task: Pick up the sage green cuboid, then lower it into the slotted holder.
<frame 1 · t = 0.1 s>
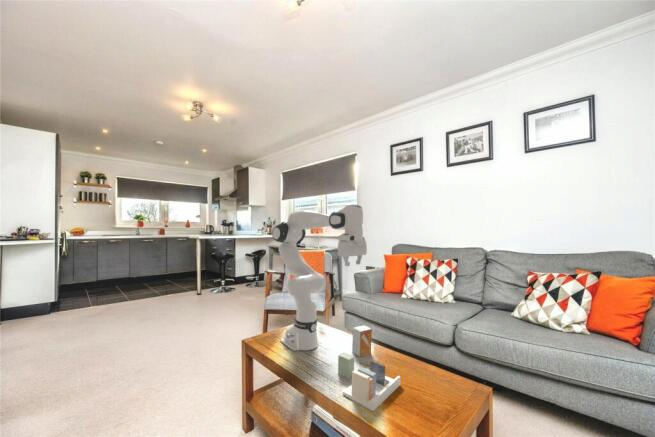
hand: (352, 265, 130), 48 cm above the table, fingers open, 8 cm apart
small box: (361, 353, 141), on the table
sage green cuboid: (345, 373, 120), on the table
slotted holder: (372, 389, 109), on the table
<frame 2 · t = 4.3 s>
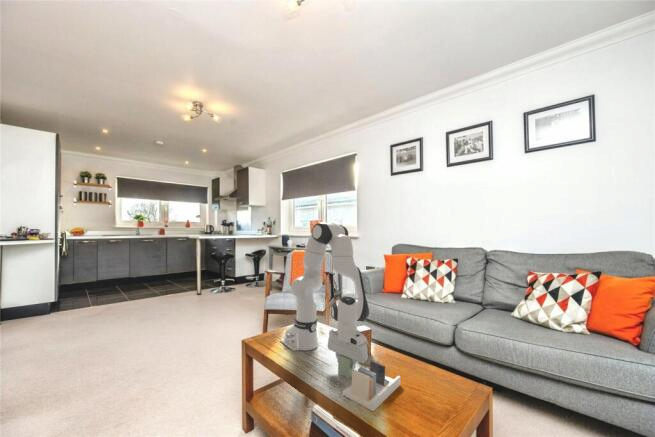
hand: (346, 365, 120), 4 cm above the table, fingers closed on sage green cuboid, 6 cm apart
sage green cuboid: (345, 373, 120), on the table, touching gripper
everything else where it was.
when the fingers open (6 cm above the table, at t = 14.3 s): sage green cuboid drops 1 cm, resting on slotted holder.
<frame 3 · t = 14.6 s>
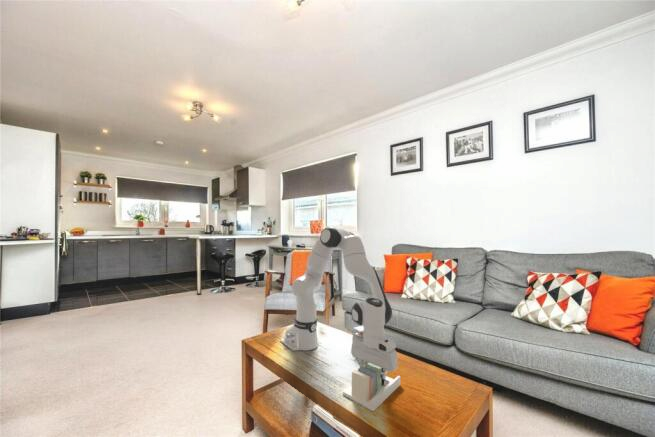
hand: (372, 373, 109), 6 cm above the table, fingers open, 8 cm apart
sage green cuboid: (372, 386, 109), point 1 cm above the table, touching slotted holder
everything else where it was.
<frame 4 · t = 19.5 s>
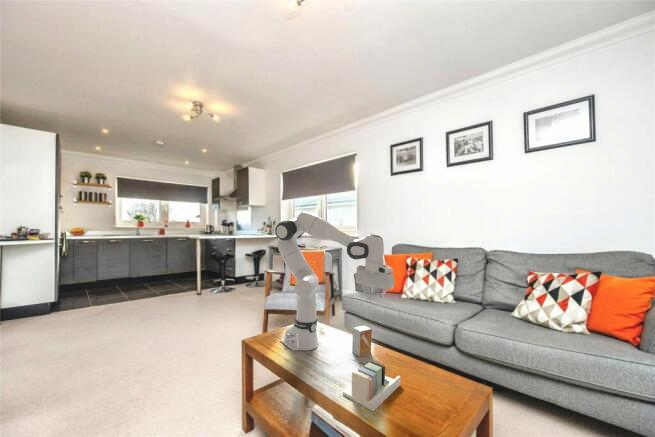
hand: (373, 295, 131), 33 cm above the table, fingers open, 8 cm apart
nothing on the table moved.
at the end: sage green cuboid 0.1 cm off-centre on the slotted holder, point 1.2 cm above the slotted holder's base; sage green cuboid tilted 0°; the gripper is holding nothing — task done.
